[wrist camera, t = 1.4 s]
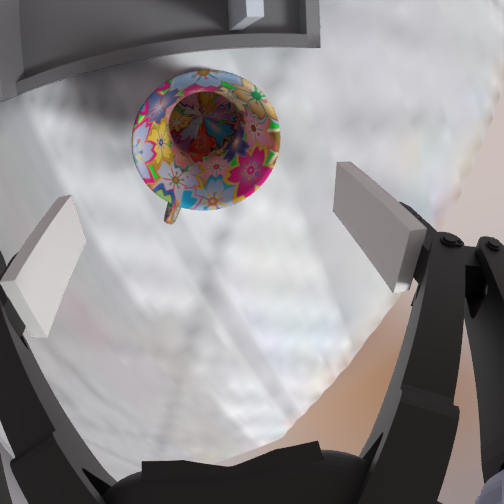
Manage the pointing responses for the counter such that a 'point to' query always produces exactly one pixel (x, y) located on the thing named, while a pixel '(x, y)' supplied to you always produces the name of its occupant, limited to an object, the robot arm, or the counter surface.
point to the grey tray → (132, 34)
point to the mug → (205, 141)
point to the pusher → (244, 13)
